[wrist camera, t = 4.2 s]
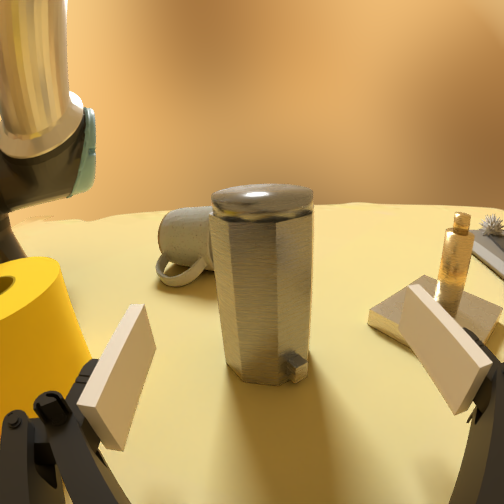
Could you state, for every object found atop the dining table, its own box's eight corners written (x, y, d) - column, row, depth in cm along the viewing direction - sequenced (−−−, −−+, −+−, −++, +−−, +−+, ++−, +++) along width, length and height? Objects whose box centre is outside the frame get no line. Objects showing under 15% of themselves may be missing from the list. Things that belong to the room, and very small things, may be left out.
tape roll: (69, 477, 11) (-25, 352, 7) (-21, 425, 12) (-86, 318, 8) (126, 372, 20) (89, 256, 17) (38, 353, 21) (1, 257, 18)
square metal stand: (367, 323, 24) (380, 209, 21) (421, 287, 29) (434, 195, 25) (463, 377, 16) (507, 246, 13) (498, 321, 21) (524, 220, 17)
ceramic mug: (189, 250, 43) (182, 198, 40) (241, 256, 40) (237, 199, 37) (142, 284, 34) (129, 222, 31) (200, 295, 31) (190, 225, 28)
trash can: (210, 344, 23) (190, 191, 19) (271, 320, 26) (266, 179, 22) (264, 404, 17) (255, 212, 13) (332, 366, 20) (346, 195, 16)
